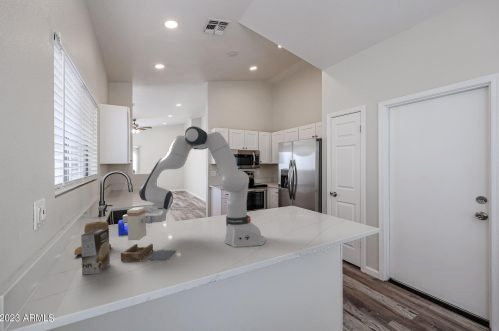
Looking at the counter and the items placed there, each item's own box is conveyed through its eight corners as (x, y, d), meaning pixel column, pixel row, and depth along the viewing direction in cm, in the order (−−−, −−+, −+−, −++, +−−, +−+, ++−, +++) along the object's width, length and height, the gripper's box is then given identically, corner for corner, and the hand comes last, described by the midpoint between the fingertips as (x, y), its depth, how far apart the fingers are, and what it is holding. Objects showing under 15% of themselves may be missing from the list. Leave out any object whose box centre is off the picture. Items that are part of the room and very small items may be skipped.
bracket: (133, 234, 144) (132, 220, 144) (118, 235, 141) (117, 221, 141) (138, 226, 161) (137, 214, 161) (124, 228, 158) (124, 215, 158)
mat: (175, 251, 114) (175, 250, 114) (166, 260, 103) (166, 259, 103) (158, 251, 114) (158, 250, 114) (147, 260, 103) (147, 259, 103)
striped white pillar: (146, 235, 113) (145, 207, 112) (138, 240, 105) (137, 210, 105) (136, 235, 113) (135, 207, 113) (128, 240, 106) (126, 210, 106)
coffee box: (98, 273, 92) (97, 234, 91) (81, 275, 91) (80, 235, 91) (110, 263, 101) (109, 227, 101) (95, 264, 100) (94, 228, 100)
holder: (153, 250, 115) (152, 243, 115) (140, 261, 103) (139, 253, 103) (135, 250, 116) (135, 243, 116) (121, 260, 104) (120, 253, 104)
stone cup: (110, 244, 126) (109, 217, 126) (111, 250, 116) (110, 221, 116) (76, 250, 118) (75, 221, 118) (74, 258, 108) (73, 227, 108)
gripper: (131, 209, 123) (114, 215, 109) (168, 208, 121) (156, 214, 108) (131, 220, 123) (115, 228, 109) (168, 220, 121) (156, 227, 108)
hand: (135, 221), depth 108 cm, fingers closed on striped white pillar, 5 cm apart
